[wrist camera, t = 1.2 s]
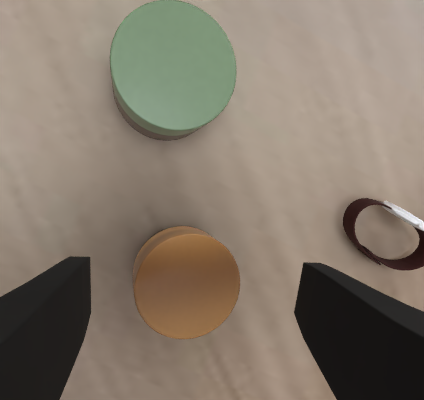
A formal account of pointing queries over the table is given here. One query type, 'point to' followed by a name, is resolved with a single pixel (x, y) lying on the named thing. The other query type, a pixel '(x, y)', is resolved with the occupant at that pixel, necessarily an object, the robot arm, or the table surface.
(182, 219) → the table surface
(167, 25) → the sage chip
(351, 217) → the watch
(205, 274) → the orange short cylinder
